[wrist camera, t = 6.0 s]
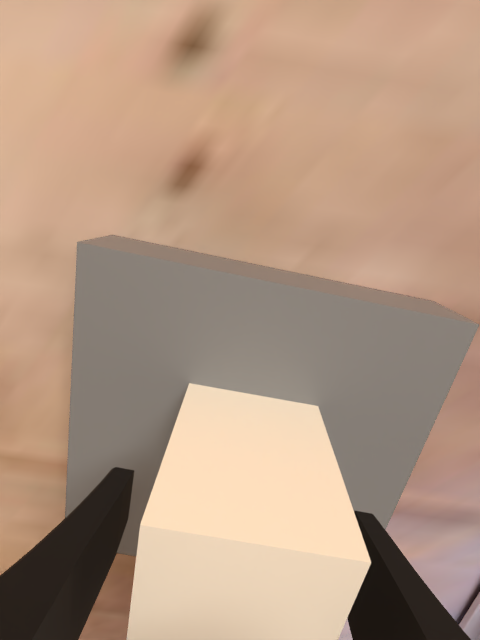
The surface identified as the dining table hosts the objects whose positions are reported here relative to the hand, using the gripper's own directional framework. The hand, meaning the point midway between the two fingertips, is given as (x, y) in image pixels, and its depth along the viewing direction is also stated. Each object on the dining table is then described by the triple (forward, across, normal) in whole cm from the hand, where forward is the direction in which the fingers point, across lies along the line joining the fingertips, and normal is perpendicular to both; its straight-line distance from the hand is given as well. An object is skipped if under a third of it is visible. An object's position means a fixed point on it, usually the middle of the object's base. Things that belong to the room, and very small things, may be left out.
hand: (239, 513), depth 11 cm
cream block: (+3, 0, 0) cm, 3 cm away
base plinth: (+6, 0, 0) cm, 6 cm away
